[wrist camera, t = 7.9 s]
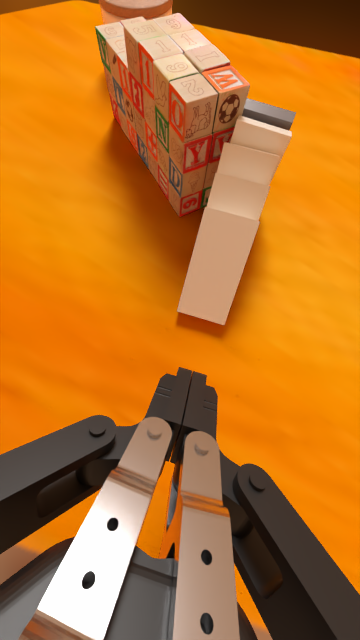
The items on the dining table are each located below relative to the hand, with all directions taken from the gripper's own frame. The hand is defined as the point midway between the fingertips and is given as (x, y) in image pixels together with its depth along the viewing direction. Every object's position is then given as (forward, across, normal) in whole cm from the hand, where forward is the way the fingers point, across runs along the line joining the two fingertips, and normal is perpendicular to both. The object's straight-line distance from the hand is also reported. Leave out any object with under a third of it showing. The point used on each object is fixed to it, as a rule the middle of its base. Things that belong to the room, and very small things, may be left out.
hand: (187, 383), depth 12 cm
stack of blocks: (+29, +11, -14) cm, 34 cm away
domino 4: (+16, 0, -2) cm, 16 cm away
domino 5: (+13, 0, +2) cm, 13 cm away
